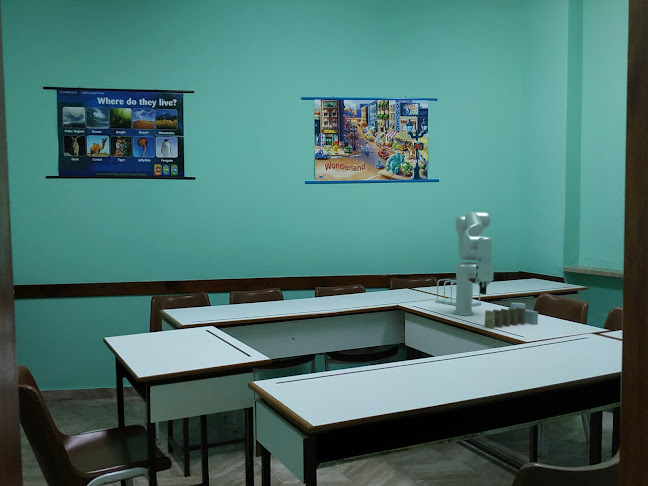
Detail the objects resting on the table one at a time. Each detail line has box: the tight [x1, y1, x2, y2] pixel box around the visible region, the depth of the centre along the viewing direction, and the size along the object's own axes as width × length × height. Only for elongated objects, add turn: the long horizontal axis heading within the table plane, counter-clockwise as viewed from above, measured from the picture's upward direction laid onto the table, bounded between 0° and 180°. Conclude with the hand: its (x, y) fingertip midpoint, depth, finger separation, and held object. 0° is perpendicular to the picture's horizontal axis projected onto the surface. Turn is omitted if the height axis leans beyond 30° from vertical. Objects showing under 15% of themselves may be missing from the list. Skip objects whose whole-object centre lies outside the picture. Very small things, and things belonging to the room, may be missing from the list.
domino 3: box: [500, 308, 511, 328], centre depth 348 cm, size 2×5×9 cm, turn 32°
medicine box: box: [510, 302, 527, 309], centre depth 373 cm, size 8×4×9 cm, turn 84°
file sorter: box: [435, 278, 482, 307], centre depth 421 cm, size 25×17×16 cm
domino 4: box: [507, 307, 518, 327], centre depth 351 cm, size 2×5×9 cm, turn 32°
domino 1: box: [484, 309, 495, 329], centre depth 342 cm, size 2×5×9 cm, turn 32°
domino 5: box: [515, 307, 526, 326], centre depth 354 cm, size 2×5×9 cm, turn 31°
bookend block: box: [525, 308, 539, 326], centre depth 358 cm, size 4×10×7 cm, turn 32°
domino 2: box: [492, 309, 503, 328], centre depth 345 cm, size 2×5×9 cm, turn 32°
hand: (482, 294), depth 337 cm, fingers closed
